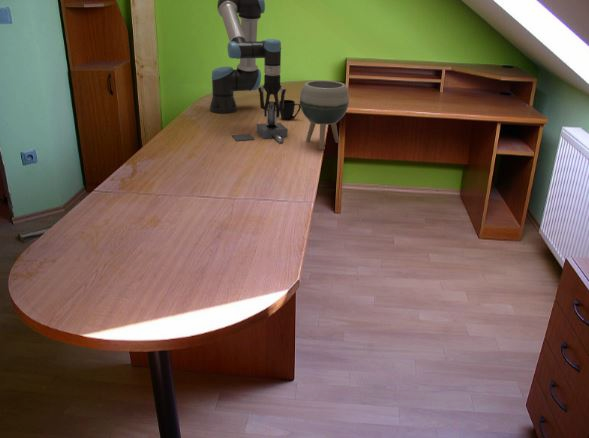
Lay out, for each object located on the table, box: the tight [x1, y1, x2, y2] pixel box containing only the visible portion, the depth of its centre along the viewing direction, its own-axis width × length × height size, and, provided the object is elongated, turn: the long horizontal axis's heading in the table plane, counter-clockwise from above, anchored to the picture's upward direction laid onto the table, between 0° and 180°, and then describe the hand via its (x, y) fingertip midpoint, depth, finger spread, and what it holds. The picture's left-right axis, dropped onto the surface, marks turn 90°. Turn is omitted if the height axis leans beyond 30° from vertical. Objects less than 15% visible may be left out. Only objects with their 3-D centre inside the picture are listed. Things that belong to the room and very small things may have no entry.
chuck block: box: [256, 122, 288, 144], centre depth 260 cm, size 21×12×4 cm, turn 20°
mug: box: [279, 99, 301, 121], centre depth 290 cm, size 8×12×10 cm
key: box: [268, 100, 276, 128], centre depth 261 cm, size 3×6×14 cm, turn 170°
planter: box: [299, 79, 350, 151], centre depth 247 cm, size 22×22×28 cm
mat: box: [231, 133, 256, 142], centre depth 258 cm, size 9×9×1 cm
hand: (271, 123), depth 262 cm, fingers closed on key, 3 cm apart
